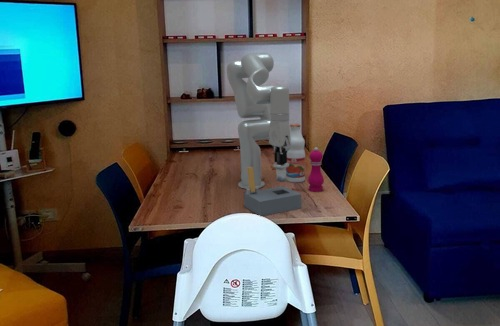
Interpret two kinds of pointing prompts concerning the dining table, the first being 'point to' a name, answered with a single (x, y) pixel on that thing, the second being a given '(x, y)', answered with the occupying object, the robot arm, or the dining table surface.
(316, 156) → the pepper mill
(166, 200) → the dining table surface
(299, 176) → the fruit juice
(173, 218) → the dining table surface
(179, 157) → the dining table surface
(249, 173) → the lever
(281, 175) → the pin
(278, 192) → the block
